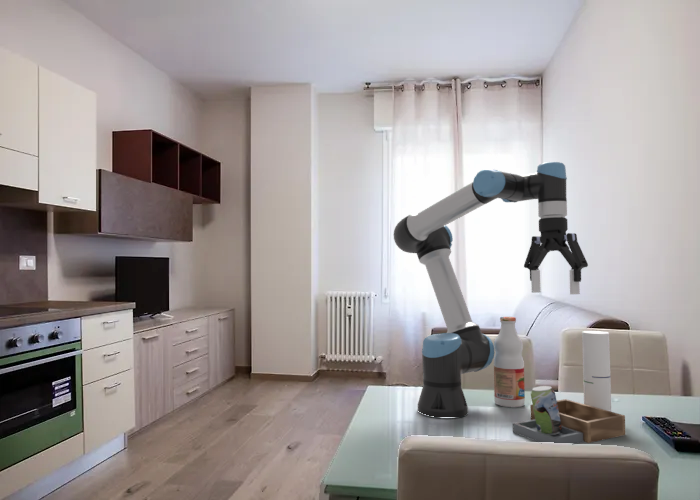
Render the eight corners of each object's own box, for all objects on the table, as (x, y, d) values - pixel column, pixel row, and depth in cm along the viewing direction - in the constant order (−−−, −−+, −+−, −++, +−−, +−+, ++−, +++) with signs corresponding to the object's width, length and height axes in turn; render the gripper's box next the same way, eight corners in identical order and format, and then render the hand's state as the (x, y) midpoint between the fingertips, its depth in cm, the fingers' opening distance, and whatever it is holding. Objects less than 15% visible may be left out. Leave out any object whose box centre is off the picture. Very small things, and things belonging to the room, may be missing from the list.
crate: (530, 422, 142) (530, 404, 142) (566, 416, 148) (565, 399, 148) (588, 443, 125) (587, 422, 125) (625, 434, 131) (624, 415, 131)
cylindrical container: (610, 423, 140) (608, 334, 141) (582, 420, 144) (580, 332, 145) (612, 417, 146) (610, 331, 148) (585, 414, 150) (583, 330, 151)
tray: (512, 431, 134) (512, 423, 134) (540, 426, 138) (540, 418, 138) (554, 448, 121) (554, 438, 122) (583, 442, 126) (583, 432, 126)
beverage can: (564, 438, 126) (563, 390, 126) (533, 436, 128) (532, 389, 128) (559, 429, 132) (558, 384, 133) (530, 428, 134) (528, 383, 134)
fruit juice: (492, 400, 167) (490, 315, 169) (520, 400, 166) (519, 316, 168) (497, 407, 158) (495, 318, 159) (528, 408, 157) (526, 318, 158)
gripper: (600, 213, 131) (603, 294, 130) (529, 222, 154) (531, 291, 153) (580, 212, 128) (583, 295, 127) (510, 221, 151) (512, 292, 150)
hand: (554, 293), depth 140 cm, fingers open, 13 cm apart
